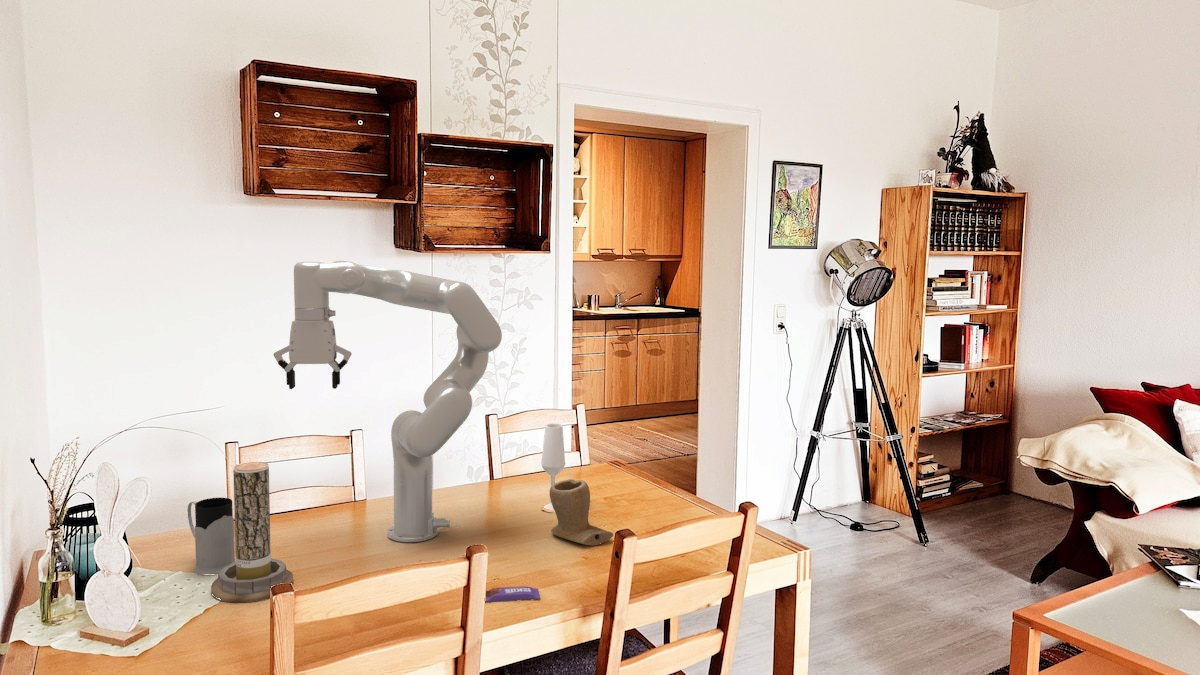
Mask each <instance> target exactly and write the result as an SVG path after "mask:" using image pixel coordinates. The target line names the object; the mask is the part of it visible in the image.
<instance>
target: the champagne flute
mask: <svg viewBox="0 0 1200 675" xmlns="http://www.w3.org/2000/svg"><path fill="white" fill-rule="evenodd" d="M544 427H545V428H544V436H543V445H542V454H541V462H540V464H541V467H542V468H543V470H544V471H545V473H546V474H548V475H549V476H550V487H551V486H552V485H553V484H555V483H556V476H557V475H558V474H560V473H561V472H562V471H563V469H564V468H565V466H566V459H565V457H566V456H565V441H564V430H563V429H564V427H563V424H560V423H547V424H546V425H545V426H544ZM543 506H544V508H546V509H550V510H554V508H553V506H552V503H551V499H550V502H549V503H547V504H545V505H543Z"/></svg>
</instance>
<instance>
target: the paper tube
mask: <svg viewBox="0 0 1200 675" xmlns="http://www.w3.org/2000/svg"><path fill="white" fill-rule="evenodd" d="M232 473H233V501H234V503H233V505H234V506H233V507H234V508H233V509H234V550H235V561H236V580H253V579H258V578H262V577H267V576H269V575H271V558H272V557H271V554H272V552H271V551H272V550H271V510H270V509H271V505H270V470H269V463H267V462H265V461H264V462H263V461H247V462H243V463H238V464H236V465H234V466H233V472H232Z"/></svg>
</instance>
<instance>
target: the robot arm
mask: <svg viewBox="0 0 1200 675" xmlns="http://www.w3.org/2000/svg"><path fill="white" fill-rule="evenodd" d="M329 293H336V294H337V293H338V294H345V295H346V294H348V295H349V294H350V295H351V294H352V295H357V296H362V297H367V298H373V299H378V300H381V301H383V302H386V303H389V304H393V305H397V306H403V307H409V308H414V309H420V310H424V311H428V312H429V311H430V312H435V313H441V314H447V315H451V317H452V319H453V320H454V321H455V323H456V324H457V326H456V334H455V335H456V339H457V352H456V355H455V357H454V358H453V360H452V361H451V362H450V363H449V365H448V366H447V367H446V368H445V369H444V370H443V371H442V372H441V373H440V375H439V376H437V378H436V379H435V380H434V381H433V382H432V383H431V384H430V386H428V387H427V388H426V390H425V392H424V395H423V404H424V407H425V409H424V411H422V412H421V411H417V410H413V409H412V410H411V409H410V410H406V411H403V412H402V413H400V414H399V415H398V416H396V418H395V419H394V420H393V423H392V425H391V430H390V432H391V435H390V436H391V445H392V454H393V455H392V456H393V457H392V458H393V525H392V526H390V527H389V528H388V529H387V537H388V538H389V539H390V540H393V541H396V542H401V543H418V542H419V543H420V542H423V541H428V540H430V539H432V538H435V537H436V536H438V535H439V528H443V529H447V528H451V520H450V519H446V517H439V518H437V516H435V512H433V456H432V455H435V454H436V453H437V452H439V451H440V450H441V448H443V447H444V445H445V444H446V443H447V442H448V441H449V439H451V438H452V437H453V435H454V434H456V432H457V431H458V429H460V427H461V426H462V425H463V424H464V423H465V422H466V420H468V417H470V414H471V411H472V408H473V399H472V398H473V397H472V395H471V394H470V392H471V391H472V390H473V389H474V388H475V386H476V385H477V384H478V383H479V382H480V380H481V379H482V378H483V375H484V374H485V372H486V370H487V368H488V365H489V364H488V363H489V355H490V353H491V352H493V351H494V350H496V349H498V347H499V346H500V344H501V342H502V338H503V333H502V329H501V327H500V324H499V323H498V322H497V320H496V318H495V317H494V316H493V315H492V313H491V312H490V310H489V309H488V308H487V306H486V304H485V303H484V301H483V300H482V299H481V297H480V296H479V295H478V293H477V292H476V290H474V288H473V287H472V286H471V285H470V284H468V283H466V282H462V281H457V280H451V279H447V278H442V277H436V276H431V275H428V274H422V273H418V272H413V271H407V270H401V269H399V270H398V269H389V268H388V269H387V268H380V267H375V266H368V265H363V264H357V263H355V262H353V261H347V260H334V261H332V262H330V263H324V262H322V261H299V262H297V263H295V264H294V266H293V297H294V298H293V300H294V320H292V321H291V326H290V334H289V345H287V346H285V347H283V348H281V349H279V350H276V351H275V352H273V354H272V355H273V357H274V359H275V360H276V362H277V364H278V366H280V367H281V368H282V369H283V370H284V372H285V373H286V374H285V375H286V385H287V386H288V388H289V390H292V389H294V388H295V387H296V371H295V370H294V368H295V367H296V365H326V364H327V365H329V367H330V368H332V369H333V371H332V372H331V380H332V381H331V384H332V387H331V388H332V389H333V390H334V389H335V390H336V389H337V388H338V385H339V386H340V384H341V370H342V369H343V368H344V367H345V366H346V365H347V364H348V362H349V360H350V359H351V357H352V354H353V353H352V351H351V350H348V349H346V348H344V347H342V346H340V345H337V339H336V337H337V336H336V330H335V324H334V321H333V320H331V319H330V318H331V317H336V313H337V312H336V310H333V309H331V307H330V300H329V298H330V297H329V296H330V295H329ZM287 353H288V360H289V362H287V361H286V360H285V359H284V357H283V356H284V354H287ZM338 353H339V354H341V355H342V356H343V358H342V360H341V361H339V362H338V361H337V358H338V356H337V355H338Z"/></svg>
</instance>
